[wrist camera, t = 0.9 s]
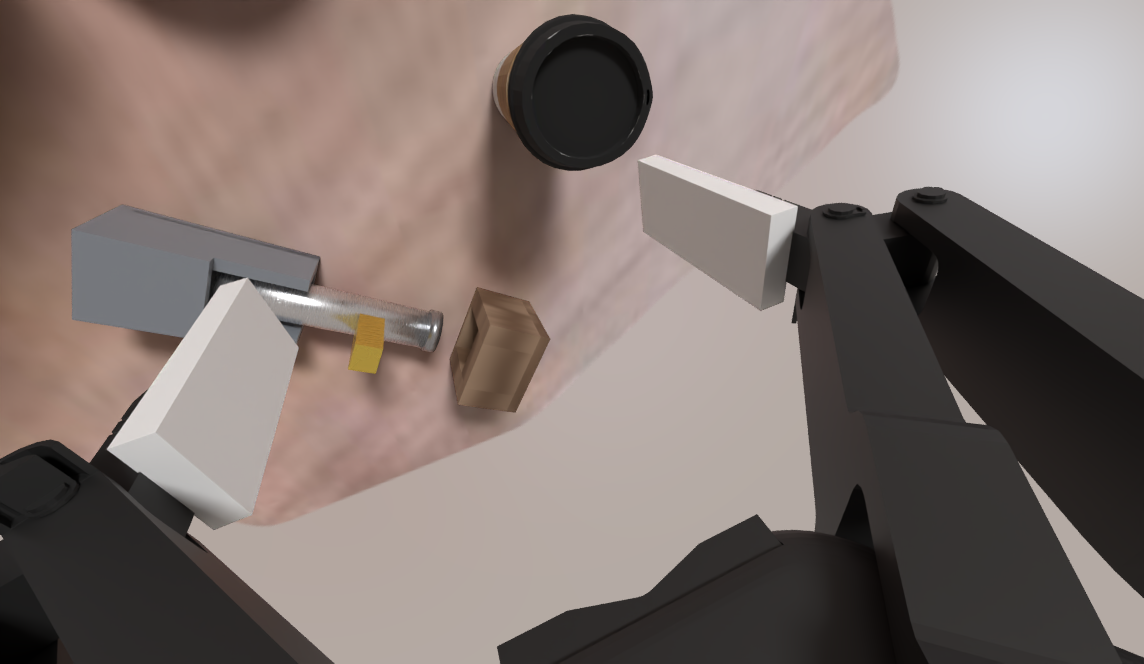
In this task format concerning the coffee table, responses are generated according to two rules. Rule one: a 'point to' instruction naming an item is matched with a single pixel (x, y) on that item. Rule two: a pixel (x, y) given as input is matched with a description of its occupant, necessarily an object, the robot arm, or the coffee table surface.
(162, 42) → the coffee table surface
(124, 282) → the sleeve
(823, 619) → the robot arm
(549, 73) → the coffee cup
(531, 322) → the socket
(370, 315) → the tube
